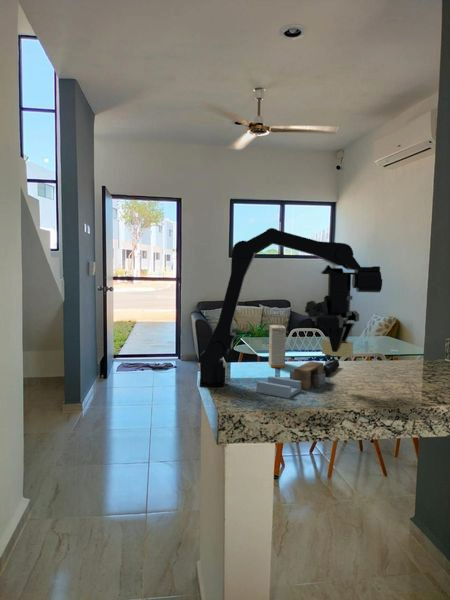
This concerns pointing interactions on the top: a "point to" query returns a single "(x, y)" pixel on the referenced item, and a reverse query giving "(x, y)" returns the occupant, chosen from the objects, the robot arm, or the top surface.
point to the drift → (313, 379)
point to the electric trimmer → (330, 367)
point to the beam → (307, 373)
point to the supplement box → (277, 346)
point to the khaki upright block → (343, 350)
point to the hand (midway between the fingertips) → (337, 350)
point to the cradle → (279, 387)
